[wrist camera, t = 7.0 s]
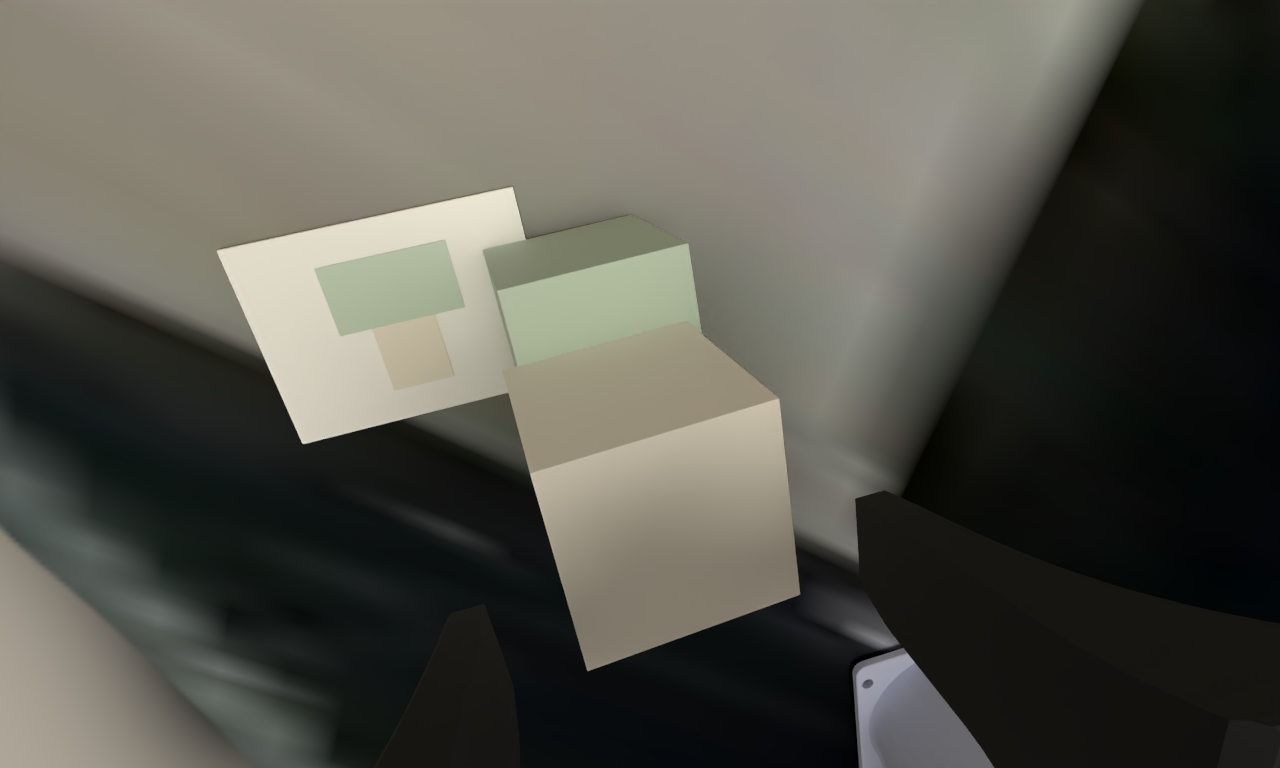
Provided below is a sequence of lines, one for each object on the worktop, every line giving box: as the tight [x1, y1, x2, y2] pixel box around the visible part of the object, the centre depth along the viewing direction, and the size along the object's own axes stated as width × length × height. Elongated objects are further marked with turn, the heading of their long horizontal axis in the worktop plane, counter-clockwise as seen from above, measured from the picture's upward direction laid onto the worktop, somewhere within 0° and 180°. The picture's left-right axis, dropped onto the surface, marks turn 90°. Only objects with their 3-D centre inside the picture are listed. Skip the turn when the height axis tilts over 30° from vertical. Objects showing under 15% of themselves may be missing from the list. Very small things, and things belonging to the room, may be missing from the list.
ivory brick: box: [502, 321, 800, 671], centre depth 15 cm, size 4×4×5 cm
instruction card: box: [217, 186, 526, 444], centre depth 20 cm, size 6×8×1 cm
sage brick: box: [483, 214, 702, 367], centre depth 19 cm, size 9×4×5 cm, turn 10°
